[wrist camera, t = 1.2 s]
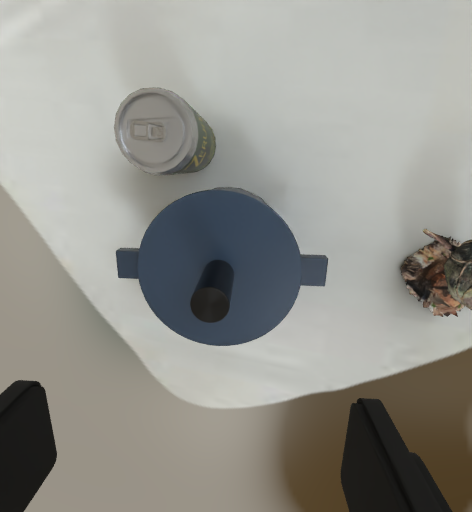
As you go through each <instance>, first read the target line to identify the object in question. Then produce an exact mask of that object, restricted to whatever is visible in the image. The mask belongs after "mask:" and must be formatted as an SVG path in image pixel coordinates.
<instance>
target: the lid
mask: <svg viewBox="0 0 472 512" xmlns="http://www.w3.org/2000/svg"><path fill="white" fill-rule="evenodd" d="M138 277H139V282H140V286H141V289H142V292H143V295H144V297H145V299H146V301H147V303H148V304H149V306H150V308H151V309H152V311H153V312H154V313H155V315H156V316H157V317H158V318H159V319H160V320H161V321H162V322H163V323H164V324H165V325H166V326H168V327H169V328H170V329H171V330H173V331H174V332H176V333H178V334H179V335H181V336H183V337H185V338H187V339H190V340H192V341H195V342H198V343H203V344H207V345H215V346H230V345H238V344H242V343H246V342H249V341H252V340H254V339H257V338H259V337H261V336H263V335H265V334H266V333H268V332H269V331H271V330H272V329H273V328H275V327H276V326H277V325H278V324H279V323H280V322H281V321H282V320H283V319H284V318H285V316H286V315H287V314H288V313H289V311H290V309H291V308H292V306H293V304H294V302H295V300H296V298H297V296H298V292H299V289H300V285H301V279H302V263H301V255H300V252H299V248H298V245H297V242H296V240H295V238H294V236H293V234H292V232H291V230H290V229H289V227H288V225H287V224H286V223H285V222H284V220H283V219H282V218H281V217H280V216H279V215H278V214H277V213H276V212H275V211H274V210H273V209H272V208H270V207H269V206H268V205H266V204H265V203H263V202H262V201H260V200H258V199H256V198H254V197H252V196H249V195H246V194H244V193H240V192H236V191H232V190H221V189H218V190H205V191H199V192H196V193H192V194H189V195H186V196H184V197H182V198H180V199H178V200H176V201H174V202H173V203H171V204H170V205H168V206H167V207H166V208H165V209H163V210H162V211H161V212H160V213H159V214H158V215H157V216H156V217H155V219H154V220H153V221H152V222H151V224H150V225H149V227H148V229H147V230H146V232H145V234H144V237H143V239H142V241H141V245H140V249H139V254H138Z"/></svg>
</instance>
